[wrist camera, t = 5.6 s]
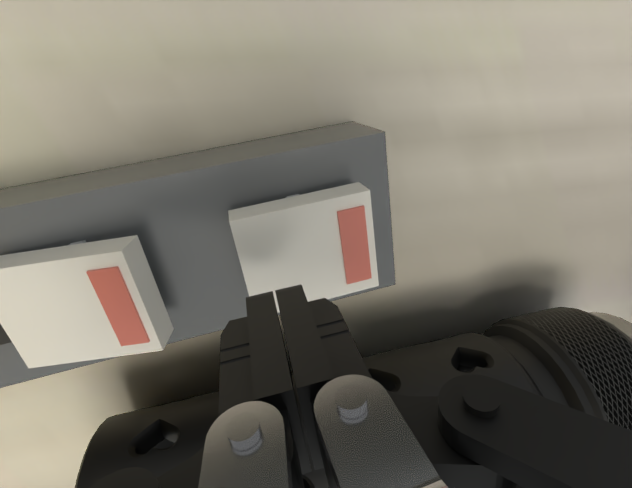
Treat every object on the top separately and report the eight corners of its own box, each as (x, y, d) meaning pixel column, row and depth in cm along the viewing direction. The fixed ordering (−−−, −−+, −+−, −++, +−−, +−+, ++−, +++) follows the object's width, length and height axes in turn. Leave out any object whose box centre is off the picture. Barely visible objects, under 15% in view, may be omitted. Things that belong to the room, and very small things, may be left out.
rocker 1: (137, 235, 13) (120, 252, 12) (173, 329, 15) (162, 352, 13) (-4, 256, 13) (-34, 274, 12) (49, 346, 15) (26, 370, 14)
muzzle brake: (113, 359, 21) (27, 587, 11) (557, 266, 25) (750, 373, 16) (158, 474, 25) (122, 712, 15) (535, 374, 29) (680, 510, 20)
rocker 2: (358, 181, 14) (371, 190, 13) (368, 272, 16) (379, 286, 15) (228, 210, 14) (229, 222, 13) (252, 301, 15) (255, 320, 14)
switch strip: (352, 121, 18) (388, 133, 14) (366, 249, 21) (399, 288, 17) (-60, 200, 16) (-152, 241, 12) (22, 334, 19) (-31, 402, 15)
